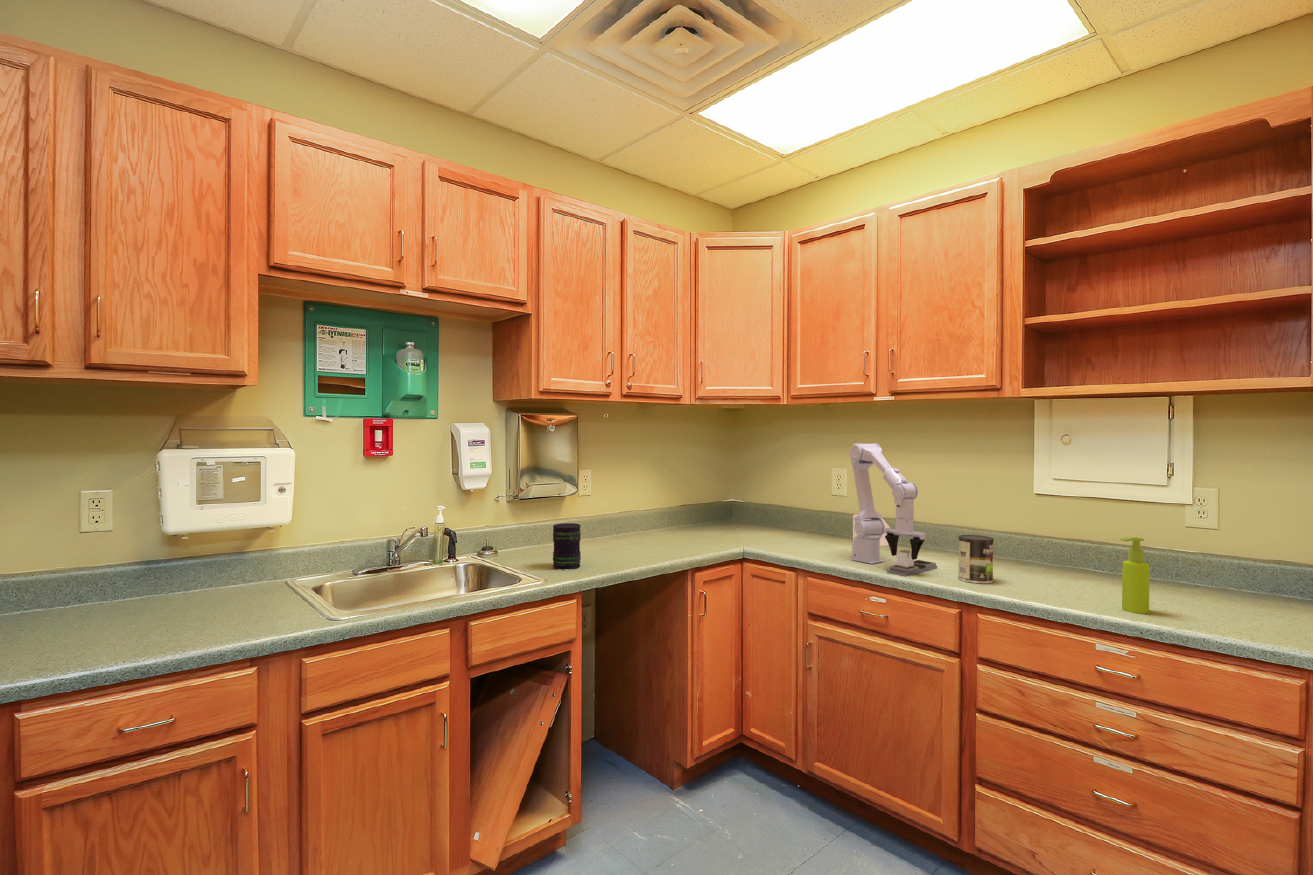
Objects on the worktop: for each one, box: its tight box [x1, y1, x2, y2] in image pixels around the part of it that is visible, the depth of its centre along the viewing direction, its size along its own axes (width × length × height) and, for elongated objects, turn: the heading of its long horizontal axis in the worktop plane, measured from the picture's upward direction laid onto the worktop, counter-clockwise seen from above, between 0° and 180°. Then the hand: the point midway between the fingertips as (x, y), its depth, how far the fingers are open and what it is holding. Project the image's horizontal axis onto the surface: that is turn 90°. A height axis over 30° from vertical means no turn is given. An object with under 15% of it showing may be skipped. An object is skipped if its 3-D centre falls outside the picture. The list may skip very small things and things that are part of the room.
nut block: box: [896, 549, 915, 569], centre depth 217 cm, size 4×4×6 cm
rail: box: [886, 559, 938, 577], centre depth 219 cm, size 7×20×2 cm, turn 127°
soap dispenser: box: [1119, 536, 1151, 615], centre depth 171 cm, size 6×7×20 cm
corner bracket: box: [852, 514, 891, 547], centre depth 270 cm, size 11×11×12 cm
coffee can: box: [958, 534, 995, 585], centre depth 206 cm, size 10×10×14 cm
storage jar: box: [552, 522, 582, 570], centre depth 224 cm, size 10×10×15 cm
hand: (904, 557), depth 216 cm, fingers open, 7 cm apart
